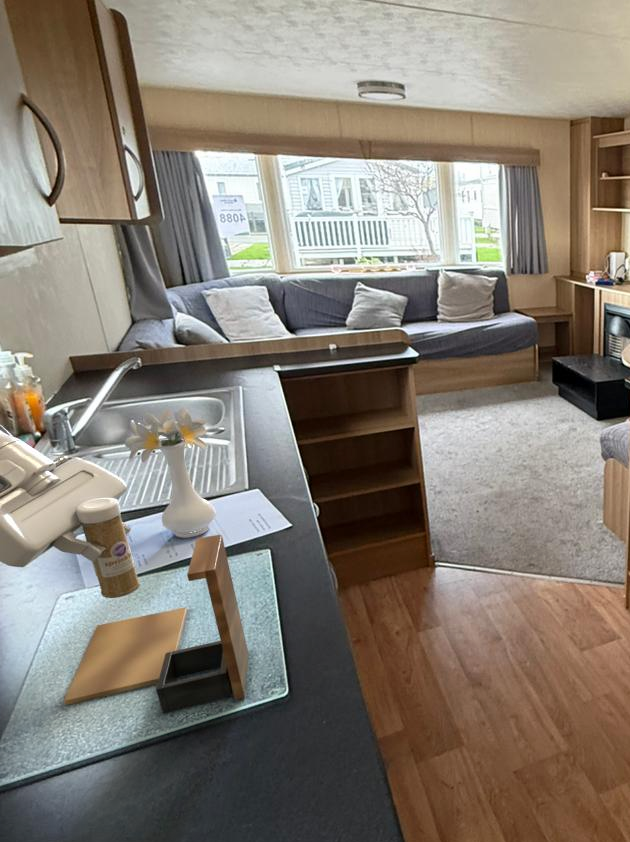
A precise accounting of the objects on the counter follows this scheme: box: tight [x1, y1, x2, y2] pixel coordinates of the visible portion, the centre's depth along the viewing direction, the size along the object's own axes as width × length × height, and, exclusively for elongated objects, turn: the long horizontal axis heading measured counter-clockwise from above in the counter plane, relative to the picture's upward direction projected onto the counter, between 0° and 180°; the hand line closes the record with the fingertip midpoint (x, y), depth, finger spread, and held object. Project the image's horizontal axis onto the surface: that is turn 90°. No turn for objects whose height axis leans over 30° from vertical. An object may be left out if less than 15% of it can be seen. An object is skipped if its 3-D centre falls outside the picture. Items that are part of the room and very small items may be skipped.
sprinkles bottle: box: [76, 498, 141, 599], centre depth 88 cm, size 5×5×14 cm
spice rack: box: [155, 533, 249, 715], centre depth 86 cm, size 10×10×20 cm
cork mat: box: [63, 606, 188, 706], centre depth 96 cm, size 12×18×1 cm, turn 24°
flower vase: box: [124, 407, 217, 539], centre depth 127 cm, size 13×18×25 cm
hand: (113, 545), depth 88 cm, fingers closed on sprinkles bottle, 4 cm apart
